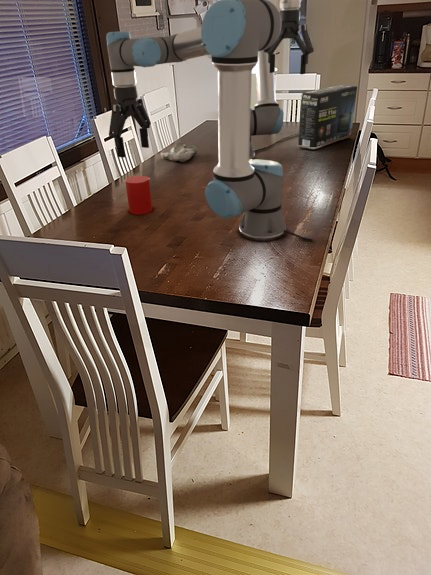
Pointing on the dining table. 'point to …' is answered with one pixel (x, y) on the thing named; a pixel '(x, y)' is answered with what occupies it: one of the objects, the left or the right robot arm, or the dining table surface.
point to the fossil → (179, 152)
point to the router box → (326, 115)
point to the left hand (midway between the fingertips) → (287, 73)
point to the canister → (138, 194)
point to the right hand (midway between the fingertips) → (133, 152)
